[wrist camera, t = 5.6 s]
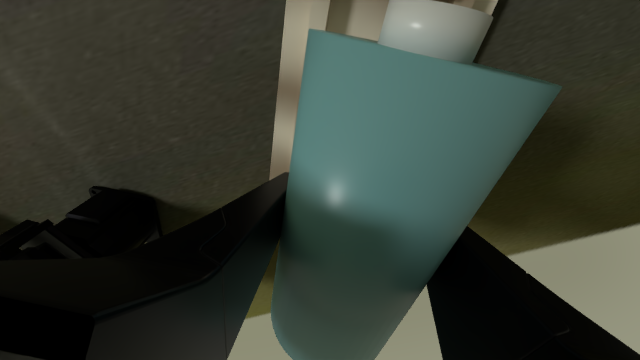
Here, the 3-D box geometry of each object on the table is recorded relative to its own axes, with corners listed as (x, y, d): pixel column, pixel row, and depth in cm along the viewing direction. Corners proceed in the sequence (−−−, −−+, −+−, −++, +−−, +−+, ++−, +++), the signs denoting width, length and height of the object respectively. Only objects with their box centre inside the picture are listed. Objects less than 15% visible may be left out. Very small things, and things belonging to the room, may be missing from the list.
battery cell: (378, 269, 13) (395, 389, 9) (284, 251, 13) (254, 362, 8) (495, 33, 7) (718, 42, 3) (325, -5, 7) (293, -54, 3)
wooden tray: (391, 218, 24) (396, 237, 21) (270, 192, 23) (262, 208, 21) (498, -14, 14) (526, -22, 12) (295, -62, 14) (285, -79, 12)
